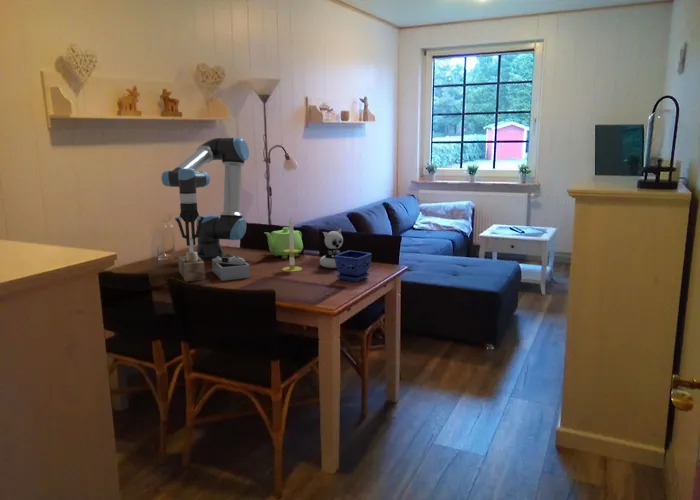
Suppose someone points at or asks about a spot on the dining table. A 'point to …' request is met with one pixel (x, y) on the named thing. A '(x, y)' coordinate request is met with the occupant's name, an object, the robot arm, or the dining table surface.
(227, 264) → the camera
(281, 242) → the teapot
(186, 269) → the beige slotted holder
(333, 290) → the dining table surface
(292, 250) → the candle
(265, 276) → the dining table surface
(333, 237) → the decorative figurine
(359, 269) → the flower pot
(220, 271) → the caddy
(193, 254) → the cream rounded upright piece
